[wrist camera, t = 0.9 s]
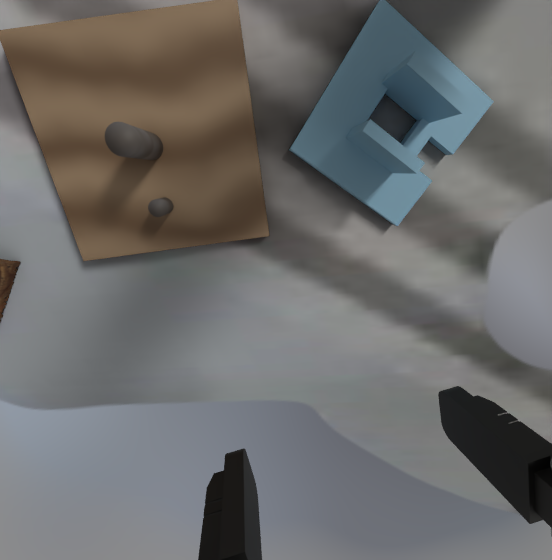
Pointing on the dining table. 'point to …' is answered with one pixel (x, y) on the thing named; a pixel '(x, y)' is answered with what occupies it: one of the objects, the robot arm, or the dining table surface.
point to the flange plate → (402, 90)
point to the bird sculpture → (6, 280)
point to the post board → (145, 126)
